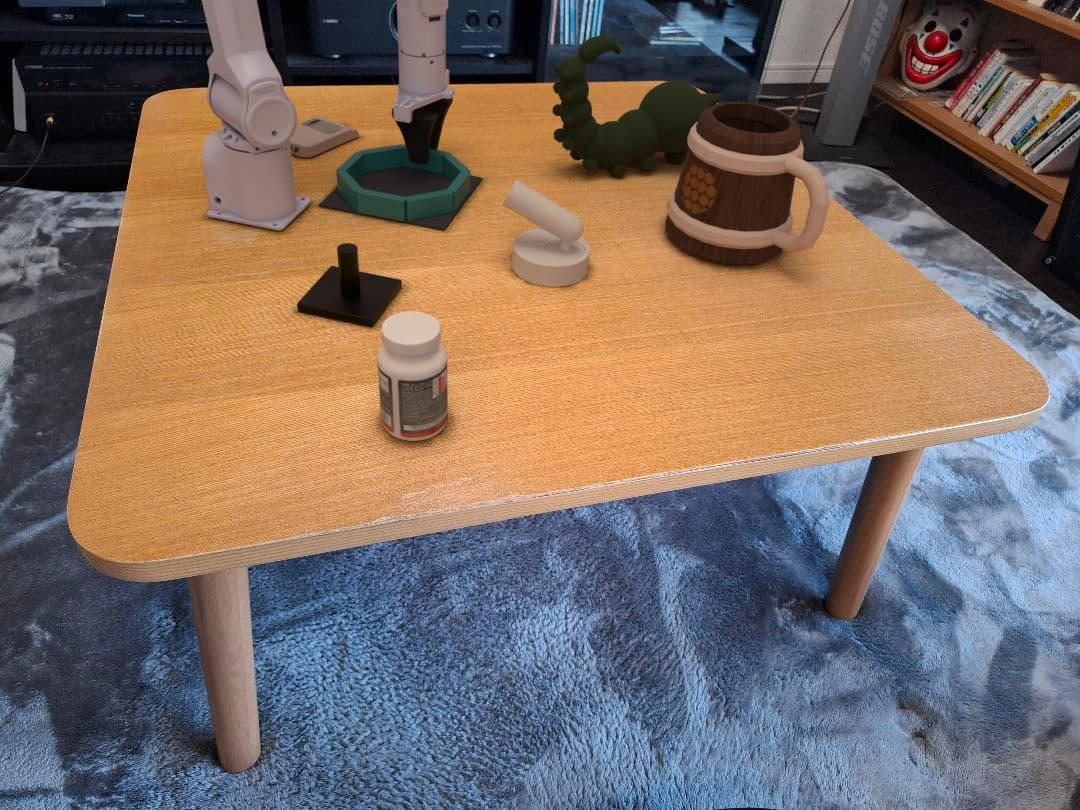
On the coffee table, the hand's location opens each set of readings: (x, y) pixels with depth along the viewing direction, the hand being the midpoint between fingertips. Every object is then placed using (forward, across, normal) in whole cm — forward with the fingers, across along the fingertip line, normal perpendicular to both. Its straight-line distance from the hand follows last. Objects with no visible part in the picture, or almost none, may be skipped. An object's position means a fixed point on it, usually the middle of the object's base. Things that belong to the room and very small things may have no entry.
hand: (423, 157), depth 113 cm
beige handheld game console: (+2, +2, +17) cm, 17 cm away
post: (+2, -32, -4) cm, 32 cm away
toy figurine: (+2, +13, -26) cm, 29 cm away
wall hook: (+2, -18, -21) cm, 28 cm away
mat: (+2, -7, 0) cm, 7 cm away
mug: (+2, -5, -42) cm, 42 cm away
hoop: (+2, -7, 0) cm, 7 cm away
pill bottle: (+2, -48, -17) cm, 51 cm away
